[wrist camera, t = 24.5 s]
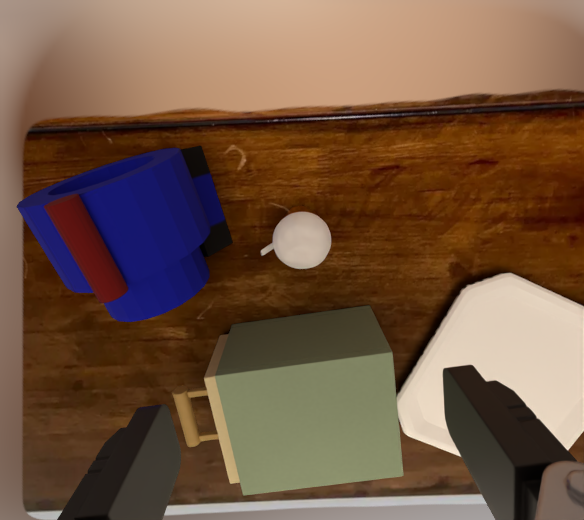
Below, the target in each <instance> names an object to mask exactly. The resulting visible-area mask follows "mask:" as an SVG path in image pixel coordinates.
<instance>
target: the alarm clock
mask: <svg viewBox="0 0 584 520" xmlns="http://www.w3.org/2000/svg"><path fill="white" fill-rule="evenodd" d="M17 208H18V210H19V211H20V213H21V214H22V216H23V218H24V219H25V221H26V223H27V224H28V226H29V227H30V229H31V231H32V232H33V234H34V235H35V237H36V239H37V240H38V242H39V244H40V245H41V247H42V248H43V250H44V252H45V253H46V255H47V257H48V258H49V260H50V261H51V263H52V265H53V266H54V268H55V269H56V271H57V273H58V274H59V276H60V278H61V279H62V281H63V282H64V284H65V286H66V287H67V288H68V289H70V290H72V291H74V292H80V293H93V292H94V294H95V295H96V297H97V299H98V301H99V302H100V303H104V305H105V306H106V308H107V310H108V312H109V313H110V315H111V317H112V318H114V319H116V320H118V321H124V322H133V321H139V320H145V319H149V318H152V317H155V316H158V315H160V314H163V313H166V312H168V311H170V310H172V309H174V308H176V307H178V306H180V305H181V304H183V303H184V302H186V301H187V300H189V299H190V298H192V297H193V296H194V295H196V294H197V293H198V292H199V291H200V290H201V289H202V288H203V287H204V286H205V284H206V282H207V280H208V279H209V269H208V266H207V264H206V261H205V259H204V257H209V256H211V255H212V254H214V253H216V252H217V251H219V250H221V249H223V248H224V247H226V246H228V245H229V244H231V243H233V242H232V239H231V236H230V232H229V229H228V226H227V223H226V220H225V217H224V214H223V211H222V208H221V205H220V202H219V199H218V196H217V193H216V190H215V187H214V184H213V181H212V177H211V174H210V171H209V168H208V165H207V162H206V159H205V156H204V153H203V150H202V147H201V146H197V147H192V148H187V149H183V150H180V149H179V148H168V149H161V150H157V151H152V152H148V153H144V154H140V155H137V156H133V157H130V158H126V159H123V160H120V161H117V162H113V163H110V164H107V165H104V166H101V167H98V168H96V169H93V170H90V171H87V172H84V173H82V174H79V175H76V176H74V177H71V178H68V179H66V180H63V181H61V182H59V183H56V184H54V185H52V186H49V187H47V188H45V189H43V190H41V191H38V192H36V193H34V194H32V195H30V196H29V197H27V198H25V199H24V200H22V201H21V202H19V204H18V205H17Z"/></svg>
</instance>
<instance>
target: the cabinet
mask: <svg viewBox="0 0 584 520" xmlns="http://www.w3.org/2000/svg"><path fill="white" fill-rule="evenodd" d="M215 379H216V383H217V388H218V392H219V396H220V400H221V404H222V409H223V413H224V417H225V421H226V425H227V430H228V434H229V438H230V442H231V446H232V451H233V455H234V459H235V463H236V467H237V472H238V476H239V480H240V484H241V488H242V493H243V495H251V494H259V493H267V492H275V491H284V490H292V489H300V488H308V487H317V486H325V485H333V484H341V483H350V482H358V481H366V480H374V479H383V478H391V477H399V476H403V465H402V454H401V443H400V432H399V421H398V409H397V398H396V387H395V376H394V364H393V353H392V350H391V348H390V347H389V344H388V342H387V340H386V338H385V336H384V334H383V332H382V330H381V328H380V326H379V324H378V322H377V320H376V317H375V315H374V313H373V311H372V309H371V307H370V305H367V306H360V307H353V308H346V309H339V310H332V311H325V312H317V313H310V314H303V315H296V316H289V317H282V318H275V319H267V320H260V321H253V322H246V323H239V324H232V325H231V329H230V332H229V335H228V338H227V341H226V344H225V347H224V350H223V353H222V356H221V359H220V362H219V365H218V368H217V371H216V374H215Z"/></svg>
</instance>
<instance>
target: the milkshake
mask: <svg viewBox="0 0 584 520" xmlns="http://www.w3.org/2000/svg"><path fill="white" fill-rule="evenodd" d="M330 247H331V234H330V231H329V228H328V226H327V225H326V223H325V222H324V221H323V220H322V219H321V218H320V217H319V216H318V215H317V214H316V213H315V212H314V211H313V210H312V209H310V208H308V207H306V206H304V205H299V206H292V207H291V208H290V209H289V210H288V211H287V212H286V213H285V214H284V216H283V218H282V220H281V221H280V222H279V223H278V225H277V226H276V228H275V230H274V233H273V243H271V244H270V245H268V246H267V247H265V248H263V249H262V250H261V256H263V255H265V254H266V253H268V252H269V251H271V250H272V249H274V250H275V253H276V255H277V256H278V258H279V259H280V260H281V261H282V262H283V263H285V264H286V265H288V266H290V267H293V268H296V269H306V268H312V267H315V266H317V265H318V264H320V263H321V262H322V261H323V260H324V259H325V257H326V256H327V254H328V252H329V250H330Z"/></svg>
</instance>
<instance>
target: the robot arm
mask: <svg viewBox="0 0 584 520" xmlns="http://www.w3.org/2000/svg"><path fill="white" fill-rule="evenodd" d="M443 394H444V413H445V420H446V425H447V428H448V431H449V434H450V436H451V438H452V440H453V442H454V444H455V446H456V448H457V450H458V451H459V453H460V455H461V457H462V459H463V461H464V462H465V464H466V466H467V468H468V470H469V472H470V474H471V475H472V477H473V479H474V481H475V483H476V485H477V486H478V488H479V490H480V492H481V494H482V496H483V498H484V499H485V501H486V503H487V505H488V507H489V509H490V510H491V512H492V514H493V516H494V518H495V520H584V463H581V462H577V460H576V459H575V458H574V457H573V456H572V455H571V454H570V453H569V452H568V450H567V449H566V448H565V447H564V446H563V445H562V444H561V443H560V442H559V440H558V439H557V438H556V437H555V436H554V435H553V434H552V433H551V432H550V430H549V429H548V428H547V427H546V426H545V425H544V424H543V423H542V421H541V420H540V419H537V417H536V415H535V414H534V413H533V411H532V410H531V409H530V408H529V407H527V406H526V404H525V403H524V401H523V400H522V399H521V398H520V397H519V396H518V395H517V394H516V393H515V391H514V390H512V389H510V388H508V387H507V386H505V385H503V384H502V383H500V382H498V381H496V380H494V381H485V379H484V378H483V377H482V376H481V374H480V373H479V372H478V371H477V370H476V368H475V367H474V366H473V365H463V366H456V367H448V368H444V369H443ZM180 463H181V451H180V446H179V442H178V439H177V435H176V432H175V428H174V425H173V421H172V417H171V414H170V411H169V408H168V406H167V405H165V404H163V405H155V406H148V407H140V408H138V409H137V410H136V412H135V414H134V415H133V417H132V419H131V421H130V422H129V424H128V426H127V427H126V428H120V429H119V430H118V431H117V432H116V433H115V434H114V435H113V436H112V437H111V438H110V439H109V440H107V441H106V442H105V444H104V445H103V447H102V449H101V450H100V452H99V453H98V455H97V457H96V461H94V462H93V463H92V465H91V466H90V468H89V470H88V474H85V476H84V478H83V479H82V481H81V482H80V484H79V486H78V487H77V489H76V490H75V492H74V494H73V495H72V497H71V498H70V500H69V502H68V503H67V505H66V506H65V508H64V510H63V511H62V513H61V515H60V516H59V518H58V519H57V520H162V519H163V516H164V513H165V510H166V508H167V505H168V502H169V499H170V496H171V493H172V490H173V487H174V484H175V481H176V478H177V475H178V473H179V469H180Z"/></svg>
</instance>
